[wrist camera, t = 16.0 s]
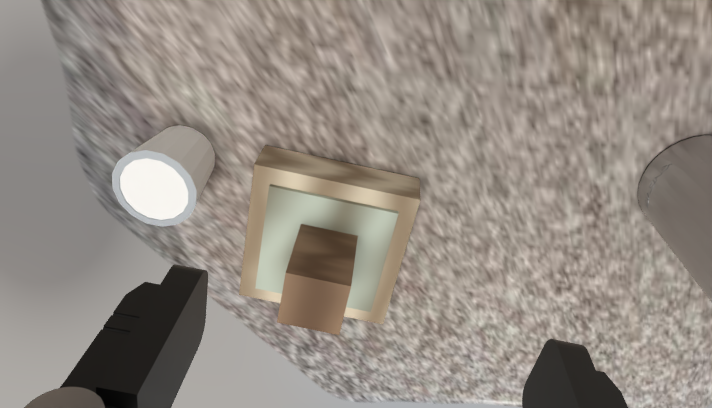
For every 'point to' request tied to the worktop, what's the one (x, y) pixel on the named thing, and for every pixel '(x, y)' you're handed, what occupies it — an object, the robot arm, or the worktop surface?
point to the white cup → (164, 176)
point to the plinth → (328, 223)
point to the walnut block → (318, 279)
